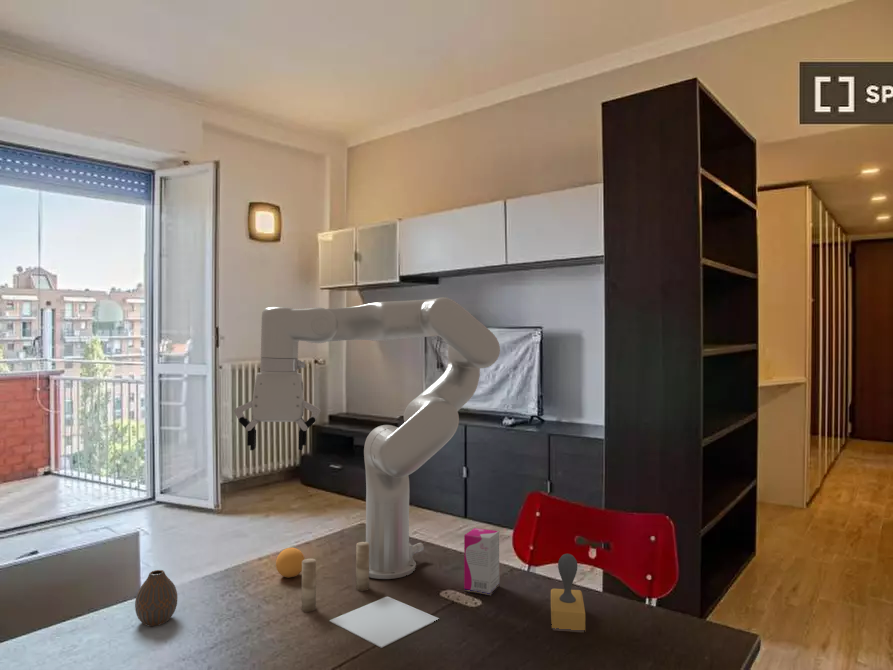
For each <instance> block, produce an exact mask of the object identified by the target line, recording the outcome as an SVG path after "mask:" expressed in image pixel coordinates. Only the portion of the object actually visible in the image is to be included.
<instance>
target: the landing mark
mask: <svg viewBox="0 0 893 670" xmlns="http://www.w3.org/2000/svg"><path fill="white" fill-rule="evenodd" d="M438 619H439V620H440V618H439V617H437V616H434V615H432V614H430V613H427V612H426V611H423V610H421V609H418V608H415V607H413V606H411V605H408V604H407V603H404V602H402V601H400V600H396V599H394V598H392V597H390V596H384V597H382V598H380V599H378V600H375V601H373V602H370V603H367V604H366V605H363V606H361V607H358V608H356V609H353V610H351V611H348V612H345V613H343V614H342V615H339V616H337V617H334V618H332V619H330V620H329V619H328V620H329V623H332V624H334V625H335V626H338V627H339V628H342V629H343V630H345V631H348V632H350V633H351V634H353V635H355V636H357V637H359V638H361V639H363V640H364V641H366V642H369V643H370V644H373V645H374V646H377V647H379V648H380V649H382V648H384V647H387V646H388V645H391V644H392V643H394V642H396V641H399V640H401V639H403V638H405V637H406V636H409V635H410V634H414V633H415V632H417V631H419V630H421V629H423V628H426V627H427V626H429V625H431V624H433V623H435V622H436V620H437V621H439V620H438ZM434 621H435V622H434Z"/></svg>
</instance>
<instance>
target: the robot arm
mask: <svg viewBox="0 0 893 670" xmlns="http://www.w3.org/2000/svg"><path fill="white" fill-rule="evenodd" d="M260 326H261V331H260V332H261V335H260V365H259V366H260V368H259V371H260V372H256V376H255V379H254V380H255V382H254V386H253V392H252V393H253V394H252V400H250V401H248V402H246V403H244V404H242V405H240V406H238V407H236V408H234V409H233V412H234V414H235V416H236V417H237V418H236V419H238V422H239V424H240V425H242V426H243V427H244V428H245V430H246V431H247V439H246V440H247V442H246V445H247V446H249V448H250V449H249V450H250V451H254V450H255V449H256V448H257V429H256V425H258V424H259V422H263V423H264V422H265V423H266V422H267V423H271V422H272V423H273V422H274V423H276V422H277V423H286V422H287V423H288V422H289V423H291V422H294V423H296V424H297V426H299V430H298V450H299V451H302V450H303V449H304V446H306V445H307V431H308V429H309V428H310V427H311V426H312V425H314V423H315V422H316V420H317V419H318V417H319V415H320V413H321V410H322V409H321V408H319V407H318V406H316V405H314V404H312V403H309V402H308V401H306V400H304V396H305V395H304V382H303V376H302V373H301V372H300V373H299V372H298V371H299V370H300V369H305V368H306V361H302V360H299V341H300V342H306V343H311V344H324V343H327V342H338V341H339V342H340V341H353V340H355V341H360V340H361V341H370V342H371V341H391V340H400V339H402V340H403V339H412V338H413V339H417V338H427V337H439V338H440V339H442V340H443V341H444V342H445V343H446V344H447V357H448V358H447V365H446V369H445V371H444V372H443V373H442V374H441V376H439V377H438V378H437V379H436V381H434V382H433V383H432V384H431V385H429V386H428V387H427V388H426V389H425V390H423V391H422V392H421V393H420V394H419V395H418V396H417V397H415V398H414V399H413V400H411V401H410V402H409V403H408V404H407V406H406V408H405V410H404V412H403V421H404V423H402V424H401V425H400V426H399V427H397V426H395V425H392V424H383V425H379V426H377V427H375V428H373V429H372V430H371V431H370V432H369V434H368V435H367V437H366V438H365V442H364V446H363V447H364V448H363V456H364V457H363V459H364V468H365V483H366V484H365V486H366V487H365V488H366V489H365V490H366V491H365V492H366V494H365V495H366V496H365V502H366V503H365V542H368V543H369V579H370V578H371V579H378V580H391V579H392V580H393V579H398V578H399V579H400V578H403V577H406V575H407V576H409V575H411V574H412V573H414V572H415V570H416V569H415V568H417V563H416V561H415V559H414V558H413V556H414V555H415V554H417V553H420V552H423V551H424V547H425V546H424V544H423V543H422V542H418V543H415V544H412V543H411V542H410V478H409V477H410V476H409V475H411V474H413V473H414V472H416V471H417V470H418V469H419V468H421V467H422V466H423V465H425V463H427V461H428V460H430V459H431V458H433V456H435V454H437V452H439V451H440V450H442V448H443V447H444V446H445V445H446V444H447V443H448V442H449V441H450V440H451V439H452V438H453V437H454V435H455V434H456V433H457V430H458V427H459V425H460V424H459V423H460V416H459V411H460V410H461V409H462V408H463V407H464V406H465V405H466V404H467V403H468V402H469V401H470V399H472V398H473V396H474V394H475V392H476V391H477V388H478V385H479V381H480V373H481V369H485V368H489V367H490V366H491V367H492V366H493V365H494V364H495V363H496V362H497V360H498V358H499V356H500V354H501V348H500V347H501V346H500V343H499V340H498V338H497V337H496V336H495V334H494V333H493V332H492V331H491V330H490V329H489V328H487V326H486V325H484V324H483V323H482V322H481V321H479V320H478V319H477V318H476V317H475V316H474V315H472V314H471V313H470V312H469V311H468V310H466V309H465V308H464V307H463V306H462V305H461V304H459V303H458V302H456V301H455V300H453V299H451V298H449V297H445V296H444V297H442V296H441V297H437V298H427V299H411V300H396V301H395V300H392V301H377V302H371V303H366V304H362V305H355V306H348V307H334V308H324V307H310V308H293V307H285V306H269V307H265V308H264V309H263V311H262V313H261V325H260ZM249 409H251V417H252V420H251V421H250V420H249V419H248V418H247V417H246V416H245V414H244V412H245V411H247V410H249ZM304 409H306V410H308V411H309V412H311V416H310V417H309V418H308V419H307V421H305V419H304V418H303V416H304ZM413 571H414V572H413Z"/></svg>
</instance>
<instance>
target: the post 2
mask: <svg viewBox="0 0 893 670" xmlns="http://www.w3.org/2000/svg"><path fill="white" fill-rule="evenodd" d="M355 550H356V551H355V553H356V555H355V556H356V557H355V558H356V559H355V580H356V581H355V589H356V591H359V592H363V591H367V590H369V589H370V577H369V543H368V542H366V541H359V542H357V543H356V546H355Z"/></svg>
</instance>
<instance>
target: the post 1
mask: <svg viewBox="0 0 893 670" xmlns="http://www.w3.org/2000/svg"><path fill="white" fill-rule="evenodd" d="M316 599H317V560H316V558H305V559H304V560H303V561H302V571H301V611H302V612H304V613H310V612H314V611H315V610H316V609H317V606H316V605H317V604H316V603H317V601H316Z"/></svg>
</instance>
